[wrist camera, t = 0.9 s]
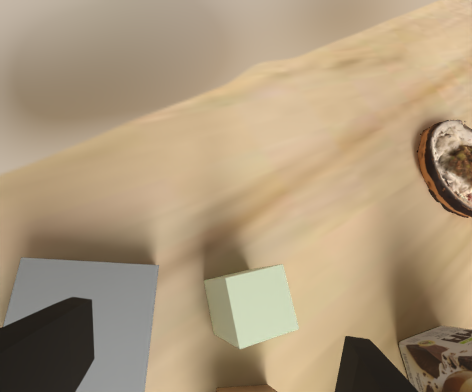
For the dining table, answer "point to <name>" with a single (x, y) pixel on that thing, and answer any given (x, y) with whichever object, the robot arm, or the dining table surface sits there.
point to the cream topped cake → (448, 165)
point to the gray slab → (97, 313)
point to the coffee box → (439, 360)
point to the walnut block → (247, 389)
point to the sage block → (251, 306)
